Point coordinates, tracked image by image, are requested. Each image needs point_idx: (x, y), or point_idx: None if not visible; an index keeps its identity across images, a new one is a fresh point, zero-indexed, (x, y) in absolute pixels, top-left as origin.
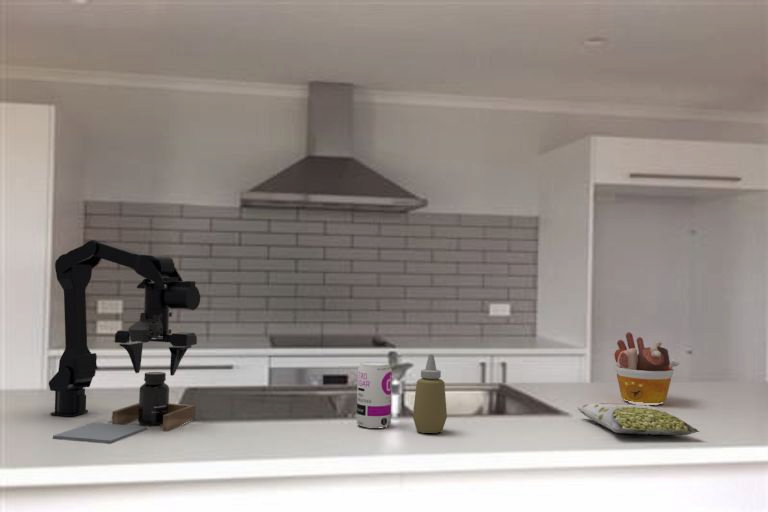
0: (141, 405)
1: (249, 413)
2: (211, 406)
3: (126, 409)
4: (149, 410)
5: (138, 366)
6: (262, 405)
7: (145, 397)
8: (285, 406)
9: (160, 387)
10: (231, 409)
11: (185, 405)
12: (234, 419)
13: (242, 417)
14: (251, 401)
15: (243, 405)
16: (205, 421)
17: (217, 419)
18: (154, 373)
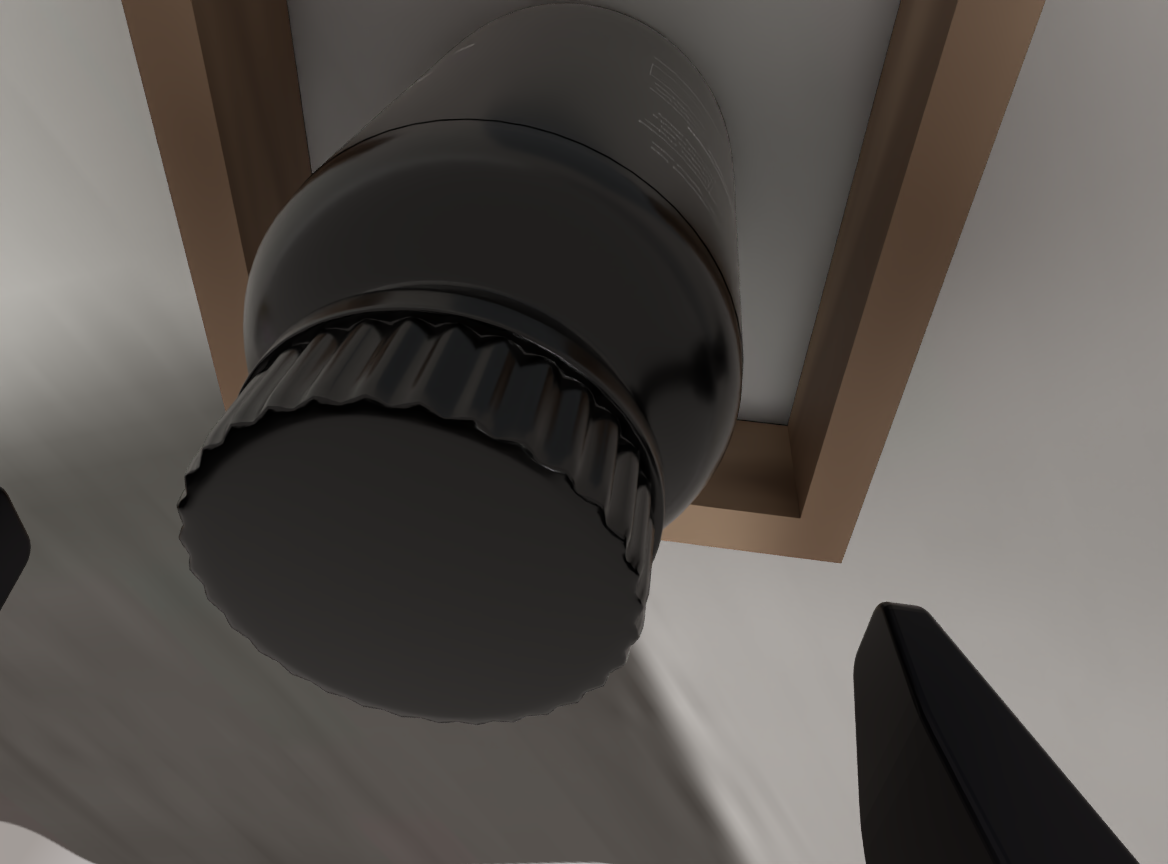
0: (635, 87)
1: (109, 630)
2: (465, 759)
3: (907, 150)
4: (496, 40)
5: (889, 783)
6: (205, 793)
7: (536, 95)
8: (77, 782)
9: (264, 270)
10: (294, 706)
11: None
12: (48, 465)
13: (53, 528)
14: (328, 856)
15: (302, 788)
16: (186, 364)
17: (156, 445)
18: (365, 522)
